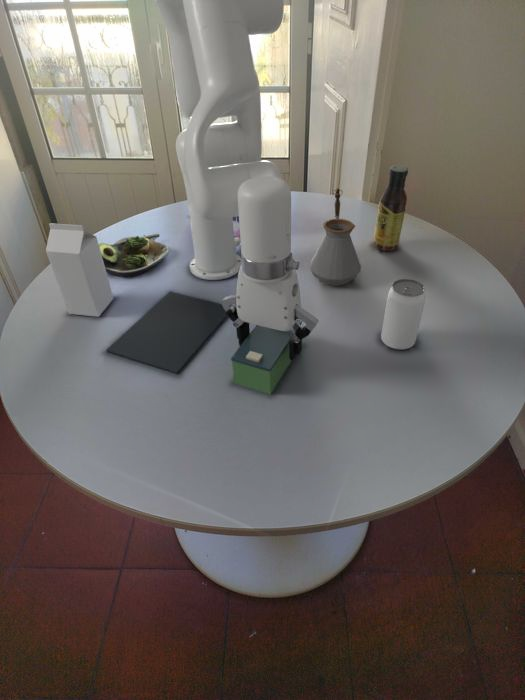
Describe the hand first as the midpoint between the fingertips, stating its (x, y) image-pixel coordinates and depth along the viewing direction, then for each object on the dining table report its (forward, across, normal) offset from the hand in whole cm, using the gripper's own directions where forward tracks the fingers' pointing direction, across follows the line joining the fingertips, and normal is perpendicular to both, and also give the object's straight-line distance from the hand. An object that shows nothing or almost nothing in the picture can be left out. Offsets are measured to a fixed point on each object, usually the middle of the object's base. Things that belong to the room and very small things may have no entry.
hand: (269, 348), depth 83 cm
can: (+4, -20, -16) cm, 26 cm away
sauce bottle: (+4, -9, -52) cm, 53 cm away
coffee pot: (+4, 0, -38) cm, 39 cm away
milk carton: (+4, +43, -2) cm, 44 cm away
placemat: (+4, +22, -2) cm, 23 cm away
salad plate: (+3, +48, -22) cm, 53 cm away
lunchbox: (+1, 0, +7) cm, 7 cm away
